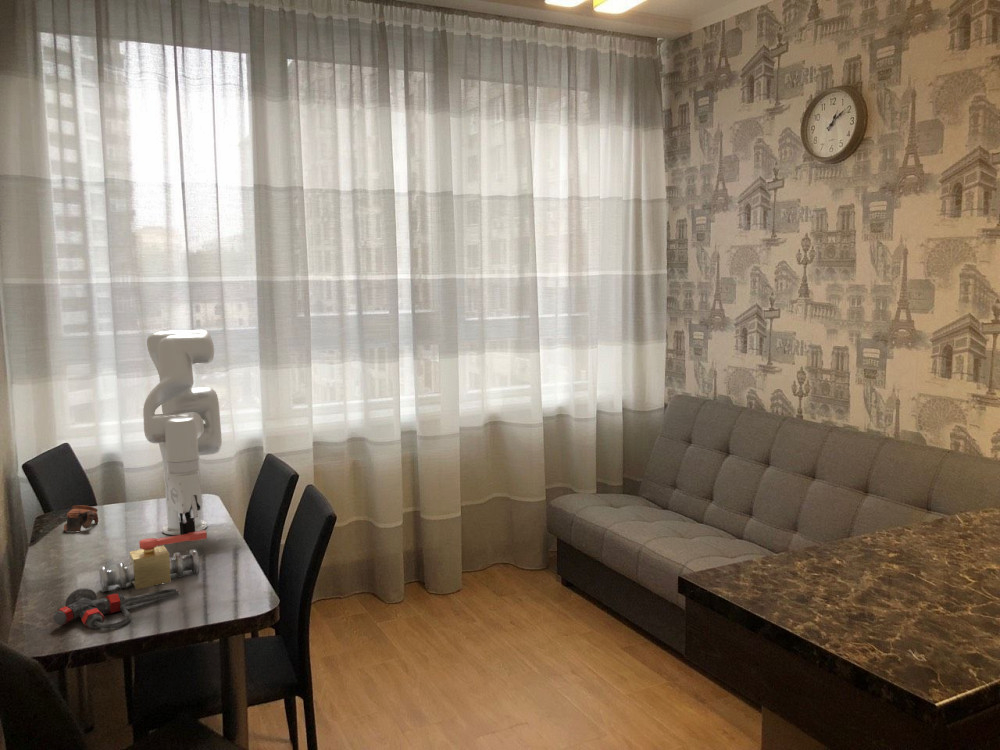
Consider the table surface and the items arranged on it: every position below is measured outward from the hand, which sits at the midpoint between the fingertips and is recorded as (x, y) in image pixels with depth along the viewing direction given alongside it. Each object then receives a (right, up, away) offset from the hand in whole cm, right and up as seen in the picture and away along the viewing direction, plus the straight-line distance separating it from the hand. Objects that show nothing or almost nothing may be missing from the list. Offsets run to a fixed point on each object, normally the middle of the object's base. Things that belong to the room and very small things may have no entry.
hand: (187, 536), depth 203 cm
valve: (-5, -13, -26) cm, 29 cm away
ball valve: (-7, -10, -6) cm, 14 cm away
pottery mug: (-48, -6, +40) cm, 62 cm away
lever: (-2, -1, -4) cm, 5 cm away
